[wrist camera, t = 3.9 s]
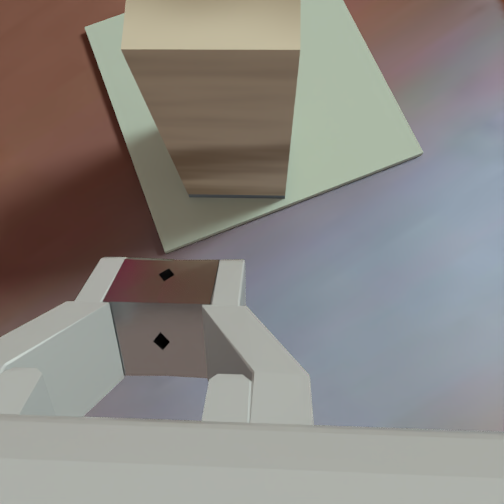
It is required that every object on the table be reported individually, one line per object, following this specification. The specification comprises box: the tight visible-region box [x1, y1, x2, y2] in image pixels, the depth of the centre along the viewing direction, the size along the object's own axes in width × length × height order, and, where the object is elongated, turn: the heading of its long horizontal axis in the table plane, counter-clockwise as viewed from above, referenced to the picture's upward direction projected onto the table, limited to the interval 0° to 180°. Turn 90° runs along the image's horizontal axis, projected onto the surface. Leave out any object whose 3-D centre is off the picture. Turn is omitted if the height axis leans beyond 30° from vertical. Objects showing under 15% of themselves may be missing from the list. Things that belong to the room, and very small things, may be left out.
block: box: [121, 0, 301, 199], centre depth 21 cm, size 6×6×13 cm
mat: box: [85, 0, 423, 253], centre depth 29 cm, size 16×16×1 cm
